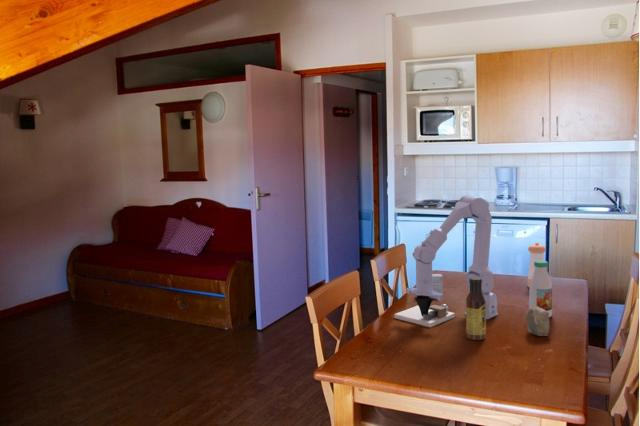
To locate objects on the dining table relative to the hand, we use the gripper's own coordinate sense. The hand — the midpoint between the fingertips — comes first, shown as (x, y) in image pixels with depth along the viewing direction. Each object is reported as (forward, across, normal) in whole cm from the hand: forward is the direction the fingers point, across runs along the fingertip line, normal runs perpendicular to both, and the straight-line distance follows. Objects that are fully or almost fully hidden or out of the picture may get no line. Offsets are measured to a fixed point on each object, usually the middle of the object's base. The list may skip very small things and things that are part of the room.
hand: (424, 316), depth 201 cm
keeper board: (+2, -3, +4) cm, 5 cm away
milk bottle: (+2, +27, +33) cm, 43 cm away
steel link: (0, +2, +4) cm, 5 cm away
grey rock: (+2, +35, +15) cm, 38 cm away
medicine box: (+2, -18, +30) cm, 35 cm away
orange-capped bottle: (+2, +8, +69) cm, 70 cm away
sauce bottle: (+2, +22, -2) cm, 22 cm away
